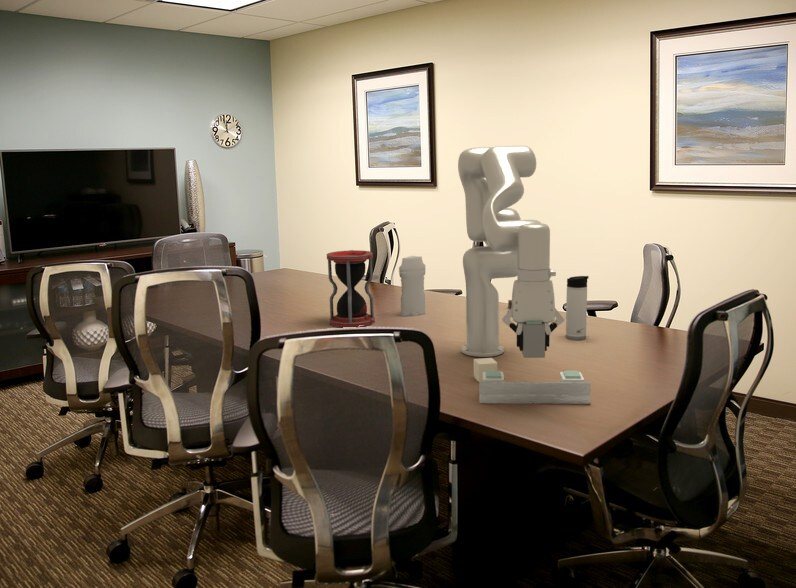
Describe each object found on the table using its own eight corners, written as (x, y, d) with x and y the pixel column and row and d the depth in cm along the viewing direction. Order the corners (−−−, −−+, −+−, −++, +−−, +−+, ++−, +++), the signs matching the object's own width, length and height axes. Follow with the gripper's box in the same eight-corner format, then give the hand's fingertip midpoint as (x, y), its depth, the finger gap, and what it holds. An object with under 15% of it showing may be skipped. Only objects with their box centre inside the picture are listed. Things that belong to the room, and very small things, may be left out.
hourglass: (373, 327, 251) (371, 255, 246) (327, 328, 252) (323, 257, 247) (376, 317, 267) (373, 249, 262) (332, 318, 267) (329, 250, 262)
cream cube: (473, 377, 195) (473, 359, 194) (491, 375, 196) (491, 357, 195) (478, 382, 190) (478, 364, 189) (497, 381, 191) (497, 362, 190)
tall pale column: (402, 317, 265) (401, 257, 261) (398, 315, 269) (396, 256, 265) (428, 314, 269) (427, 255, 265) (423, 312, 273) (422, 253, 269)
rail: (479, 400, 176) (479, 380, 175) (588, 400, 174) (589, 380, 173) (479, 403, 174) (479, 383, 173) (590, 403, 172) (590, 383, 171)
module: (521, 350, 180) (521, 316, 179) (541, 349, 180) (542, 316, 178) (523, 357, 174) (523, 323, 172) (544, 357, 173) (545, 322, 172)
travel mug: (583, 341, 227) (584, 278, 223) (562, 338, 230) (564, 276, 226) (589, 336, 232) (591, 274, 228) (569, 334, 235) (571, 273, 232)
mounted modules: (482, 391, 183) (482, 369, 182) (579, 391, 181) (580, 369, 180) (483, 399, 177) (483, 377, 176) (583, 399, 175) (584, 377, 174)
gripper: (567, 272, 176) (566, 345, 180) (496, 273, 178) (496, 345, 181) (572, 277, 169) (570, 353, 172) (498, 278, 170) (498, 353, 174)
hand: (532, 348), depth 177 cm, fingers closed on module, 5 cm apart
